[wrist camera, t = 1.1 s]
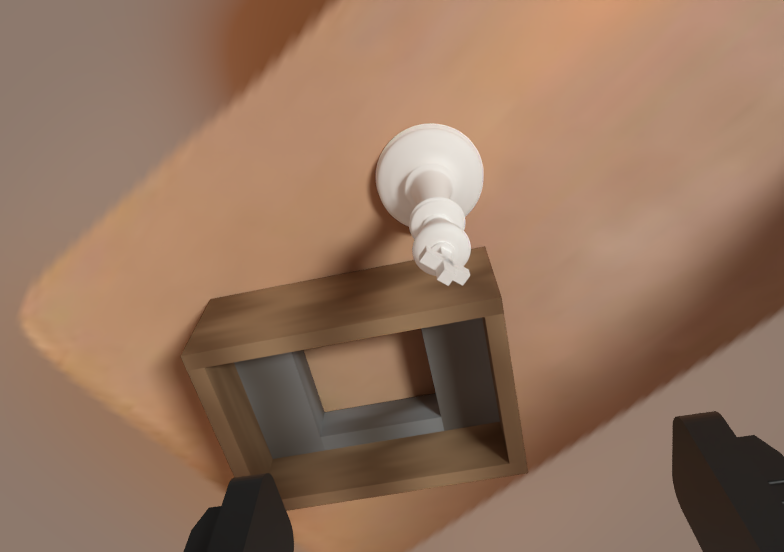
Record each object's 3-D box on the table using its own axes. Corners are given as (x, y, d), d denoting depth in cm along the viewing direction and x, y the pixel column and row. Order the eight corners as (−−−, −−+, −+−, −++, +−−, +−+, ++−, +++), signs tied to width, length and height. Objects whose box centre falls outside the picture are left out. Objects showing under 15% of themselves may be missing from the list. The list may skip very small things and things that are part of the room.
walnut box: (485, 246, 30) (501, 297, 25) (510, 406, 34) (528, 472, 30) (210, 299, 31) (180, 356, 27) (269, 446, 36) (252, 515, 31)
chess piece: (444, 244, 30) (466, 366, 21) (356, 193, 29) (339, 300, 20) (504, 159, 28) (557, 253, 19) (412, 101, 27) (422, 173, 18)
